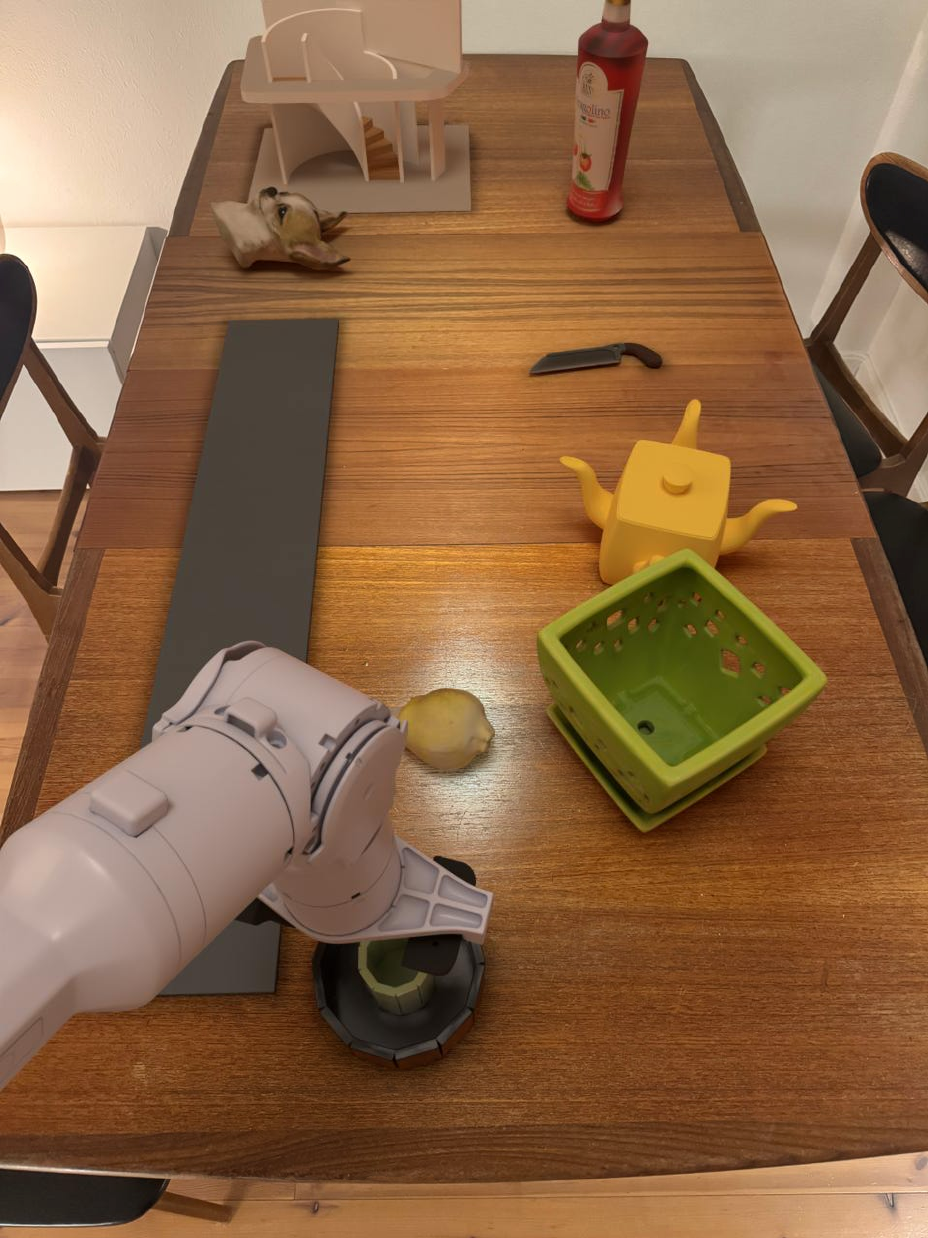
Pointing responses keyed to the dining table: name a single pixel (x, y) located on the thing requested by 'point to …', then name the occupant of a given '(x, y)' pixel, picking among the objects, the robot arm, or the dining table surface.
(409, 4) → the architectural model
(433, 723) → the fruit
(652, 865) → the dining table surface
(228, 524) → the mat
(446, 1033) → the large pot
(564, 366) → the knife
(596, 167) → the liquor
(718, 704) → the flower pot
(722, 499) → the teapot
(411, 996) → the small pot
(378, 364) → the dining table surface
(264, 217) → the ceramic sculpture
